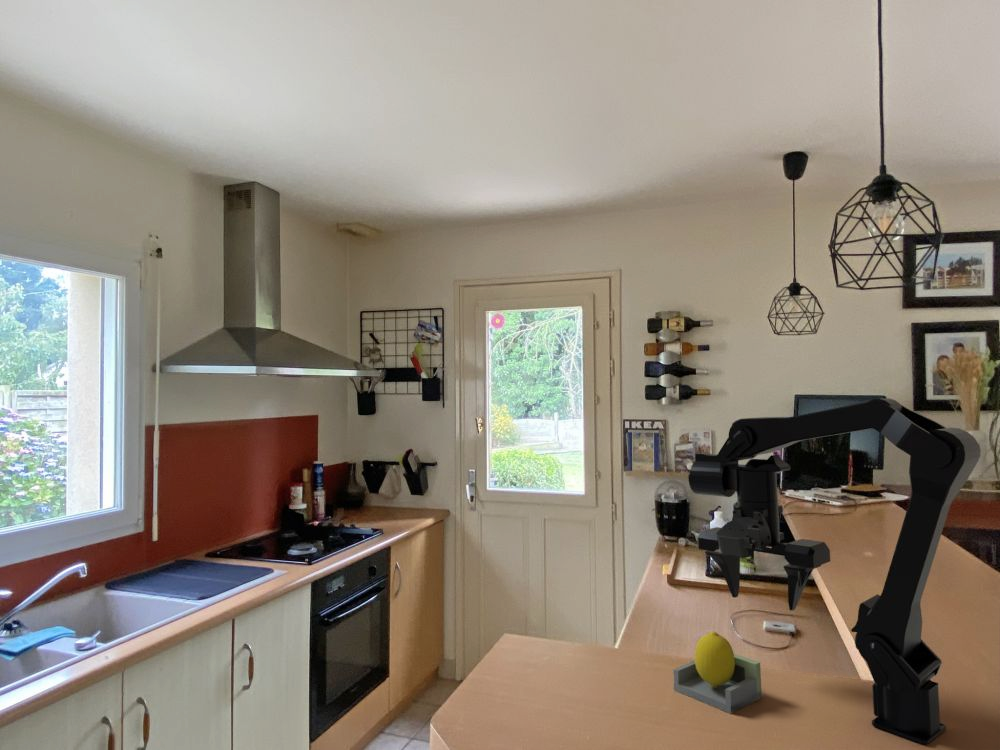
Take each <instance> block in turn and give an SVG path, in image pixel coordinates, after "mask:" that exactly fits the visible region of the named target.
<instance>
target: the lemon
mask: <svg viewBox="0 0 1000 750" xmlns="http://www.w3.org/2000/svg"><path fill="white" fill-rule="evenodd" d="M734 654H735V652H734V651H733V648H732V645H731V643H730V642H729V641H728V640H727V639H726V638H725V636H722V635H721V634H718V632H717V631H711V633H707V634H705V635H703V636H702V637H700V639H699V640H698V641H697V644H696V647H695V653H694V661H695V665H696V669H697V671H698V673H699V675H700V676H701V678H702V679H703V680H704V681H706V682H707V683H710V685H711V686H712V687H713V688H717V687H718V686H719V685H722V684H725V683H726V682H728V681H729V680H730V679H731V677H732V675H733V672H734V668H735V658H734Z"/></svg>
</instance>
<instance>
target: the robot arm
mask: <svg viewBox="0 0 1000 750" xmlns="http://www.w3.org/2000/svg"><path fill="white" fill-rule="evenodd" d="M872 429H873V430H875V431H877V433H879V434H881V435H882V436H883V437H885V438H886V439H887V440H888V441H889V442H890V443H891V444H893V445H894V446H895V447H896V448H898V449H899V450H900V451H902V452H904V453H905V454H907V455H909V456H910V457H909V469H908V475H909V482H910V483H909V484H910V493H911V494H910V498H909V502H908V504H907V509H906V512H905V515H904V518H903V522H902V525H901V528H900V532H899V535H898V538H897V542H896V544H895V549H894V550H893V555H892V559H891V561H890V565H889V568H888V571H887V575H886V579H885V582H884V585H883V587H882V591H881V594H875V595H874V596H871V597H870V598H867V599H866V600H864V601H863V602H862V601H861V603H859V606H858V611H857V612H858V613H857V620H856V623H855V625H854V626H853V627H852V628H851V630H850V632H852V633H856V634H855V637H854V645H855V648H856V650H858V653H859V654H860V656H861V657H862V658H863V660H865V662H866V664H867V667H868V669H869V672H870V674H871V677H872V679H873V682H874V683H872V703H873V705H872V706H873V707H872V708H873V715H874V716H875V717H874V719H872V720H871V725H872V726H873V727H875V728H878V729H881V730H884V731H887V732H889V733H892V734H894V735H897V736H900V737H903V738H905V739H908V740H911V741H914V742H916V743H920V744H922V745H929V744H930V743H931V742H932V741H933V740H935V739H936V738H937V737H938V736H939V735H941V734H942V733H944V731H945V730H946V729H947V725H946V724H945V723H942V722H941V717H940V697H939V693H940V692H939V683H938V682H936V681H932V680H931V679H932V678H933V677H934V676H937V675H938V673H939V671H940V668H941V666H942V659H941V658H940V657H939V656H938V655H937V654H936V653H935V652H934V651H933V649H931V648H930V647H929V646H928V645H927V644H926V643H925V641H924V640H923V639H922V633H923V615H922V608H921V603H922V602H921V601H922V597H923V594H924V591H925V588H926V584H927V581H928V579H929V575H930V572H931V569H932V565H933V562H934V560H935V555H936V552H937V549H938V546H939V543H940V540H941V536H942V533H943V531H944V527H945V524H946V521H947V517H948V514H949V512H950V509H951V505H952V503H953V501H954V500H955V498H956V497H957V495H958V494H959V493H960V491H961V489H962V488H963V487H964V486H965V484H966V483H967V482H968V480H969V478H970V476H971V475H972V473H973V471H974V469H975V467H976V466H977V464H978V463H979V460H980V457H981V450H982V449H981V445H980V444H979V442H978V441H977V439H976V438H975V437H974V436H973V435H972V434H971V433H969V432H968V431H967V430H965V429H961V428H958V427H945V426H944V425H943V424H941V423H939V422H938V421H935V420H933V419H931V418H929V417H927V416H925V415H923V414H920V413H918V412H916V411H914V410H911V409H910V408H908V407H906V406H905V405H903V404H901V403H900V402H898V401H897V400H896V399H893V398H890V397H889V398H888V397H887V398H872V399H869V400H867V401H865V402H861V403H856V404H851V405H845V406H841V407H833V408H830V409H824V410H821V411H814V412H810V413H802V414H800V415H799V414H798V415H793V416H761V417H748V418H747V417H746V418H745V417H744V418H739V419H737V420H735V421H734V422H732V424H731V426H730V428H729V431H728V437H727V438H726V440H725V442H724V444H722V446H721V448H720V450H719V451H718V453H717V454H713V453H710V452H699V453H698V452H697V453H695V455H694V456H695V457H694V459H695V460H694V462H693V463H692V465H691V466H690V471H689V474H688V479H687V480H688V485H689V487H690V490H691V491H692V493H694V494H695V495H701V496H702V495H703V496H711V497H712V496H713V497H723V498H724V497H725V498H730V497H732V496H733V495H735V493H736V492H737V493H736V494H737V506H733V509H732V518H731V520H730V521H727V522H726V523H725V524H724V525H723V526H722V527H718V526H716V527H711V528H708V529H705V530H701V531H700V532H699V534H698V535H697V538H696V540H697V549H698V550H701V551H705V552H704V554H705V555H706V556H709V557H711V559H712V560H714V561H715V562H716V563H717V564H718V566H719V568H720V571H721V572H722V575H723V577H724V579H725V582H726V585H727V587H728V589H729V591H730V595H731V597H732V598H738V597H739V592H740V584H741V583H740V580H741V579H740V576H741V575H740V574H741V559H748V558H750V557H752V556H753V555H754V553H755V552H757V553H764V554H771V555H775V556H776V555H777V556H782V557H784V560H785V561H786V562H787V563H788V564H785V565H783V569H784V571H785V572H786V575H787V601H788V609H789V611H794V610H796V609H797V606H798V604H799V601H800V599H801V596H802V594H803V591H804V589H805V586H806V584H807V582H808V579H809V578H810V576H811V574H812V573H813V571H814V569H818V568H820V567H821V566H823V565H824V564H827V563H830V562H831V550H830V548H829V546H828V545H827V544H826V542H825V541H819V540H813V539H812V540H811V539H805V538H800V539H797V540H793V541H789V542H781V541H783V540H785V533H784V532H781V531H780V519H779V518H780V517H779V514H780V513H781V514H782V513H784V511H783V510H784V508H783V505H780V504H779V501H778V500H779V499H778V483H777V482H778V480H777V473H779V472H785V471H790V470H791V465H790V464H788V463H787V462H786V461H785V460H783V459H782V457H781V456H780V455H779V454H773V455H772V454H771V453H774V452H777V451H779V450H782V449H785V448H787V447H790V446H792V445H794V444H797V443H799V442H803V441H807V440H812V439H818V438H824V437H831V436H836V435H843V434H849V433H855V432H863V431H866V430H872ZM766 454H771V455H770V456H768V458H767V459H765V458H764V459H763V458H762V459H761V458H755V457H757V456H759V455H761V456H762V455H766ZM746 460H747V462H746V464H740V463H739V462H740V461H746Z"/></svg>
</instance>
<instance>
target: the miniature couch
mask: <svg viewBox="0 0 1000 750" xmlns="http://www.w3.org/2000/svg"><path fill="white" fill-rule="evenodd" d="M734 658H735V668H734V672H733V675H732V677H731V679H730V680H729V681H728V682H726V683H725V684H722V685H719V686H718V687H717V688H713V687H712V686H711V685H710V683H707V682H706V681H704V680H703V679H702V678H701V676H700V675H699V673H698V671H697V669H696V665H695V660H693V661H690V662H688V663H685V664H682V665H680V666H678V667H675V668H673V691H676V692H678V693H680V694H683V695H685V696H687V697H689V698H692V699H695V700H697V701H700V702H702V703H704V704H706V705H709V706H712V707H714V708H716V709H719V710H721V711H724V712H726V713H728V714H733V713H735V712H737V711H739V710H741V709H742V708H744V707H746V706H748V705H751V704H752V703H755V702H756V701H758V700H760V699H762V697H763V696H762V693H763V692H762V678H761V677H762V675H761V670H762V669H761V662H760V661H757V660H755V659H751V658H748V657H745V656H742V655H740V654H737V653H734Z"/></svg>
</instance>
